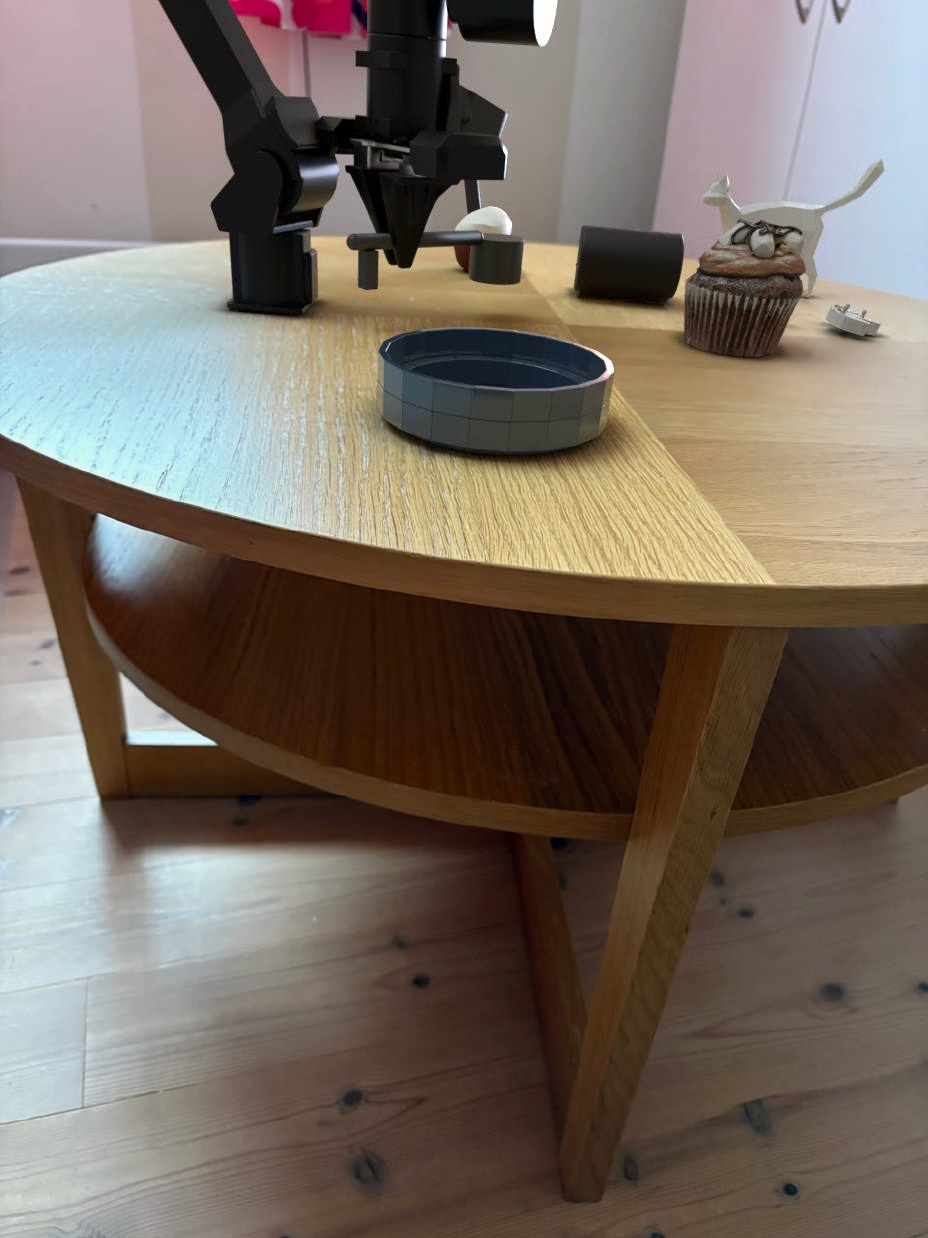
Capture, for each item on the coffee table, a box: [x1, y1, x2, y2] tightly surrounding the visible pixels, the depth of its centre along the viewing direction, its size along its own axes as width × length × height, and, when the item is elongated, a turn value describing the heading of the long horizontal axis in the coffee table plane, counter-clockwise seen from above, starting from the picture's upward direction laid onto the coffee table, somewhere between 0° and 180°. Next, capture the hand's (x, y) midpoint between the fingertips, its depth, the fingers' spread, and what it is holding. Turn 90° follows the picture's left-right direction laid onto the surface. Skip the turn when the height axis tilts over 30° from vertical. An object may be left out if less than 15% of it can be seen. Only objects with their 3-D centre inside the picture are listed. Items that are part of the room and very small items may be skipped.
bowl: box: [376, 326, 616, 456], centre depth 54 cm, size 14×14×4 cm
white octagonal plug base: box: [788, 303, 882, 337], centre depth 84 cm, size 6×12×3 cm, turn 100°
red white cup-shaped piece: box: [453, 180, 513, 273], centre depth 97 cm, size 10×6×12 cm, turn 1°
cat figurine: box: [700, 158, 885, 298], centre depth 97 cm, size 4×20×14 cm, turn 99°
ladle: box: [345, 230, 525, 291], centre depth 74 cm, size 17×5×4 cm, turn 127°
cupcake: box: [683, 219, 806, 358], centre depth 75 cm, size 10×10×10 cm
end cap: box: [573, 224, 685, 305], centre depth 89 cm, size 10×7×7 cm
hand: (399, 266), depth 72 cm, fingers closed on ladle
